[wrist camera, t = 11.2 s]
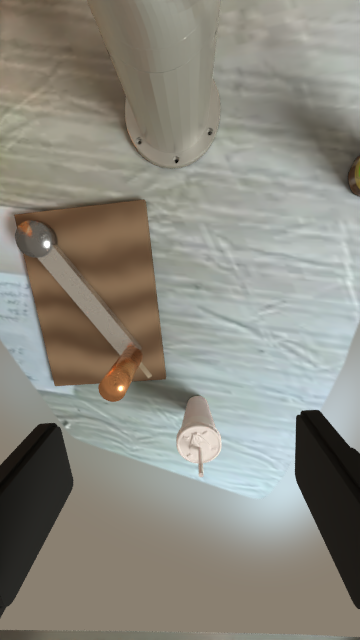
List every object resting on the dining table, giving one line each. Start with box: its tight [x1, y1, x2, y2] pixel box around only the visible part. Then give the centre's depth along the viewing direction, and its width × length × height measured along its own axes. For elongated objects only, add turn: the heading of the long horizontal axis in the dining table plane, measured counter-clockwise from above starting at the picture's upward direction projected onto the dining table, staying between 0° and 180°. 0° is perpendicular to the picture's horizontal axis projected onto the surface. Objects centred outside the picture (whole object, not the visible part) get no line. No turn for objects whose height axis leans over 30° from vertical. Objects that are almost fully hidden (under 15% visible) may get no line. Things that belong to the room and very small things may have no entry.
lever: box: [15, 220, 143, 402], centre depth 32 cm, size 26×5×12 cm, turn 37°
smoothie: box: [176, 396, 221, 477], centre depth 36 cm, size 6×6×14 cm
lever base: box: [14, 200, 166, 386], centre depth 39 cm, size 28×20×1 cm
